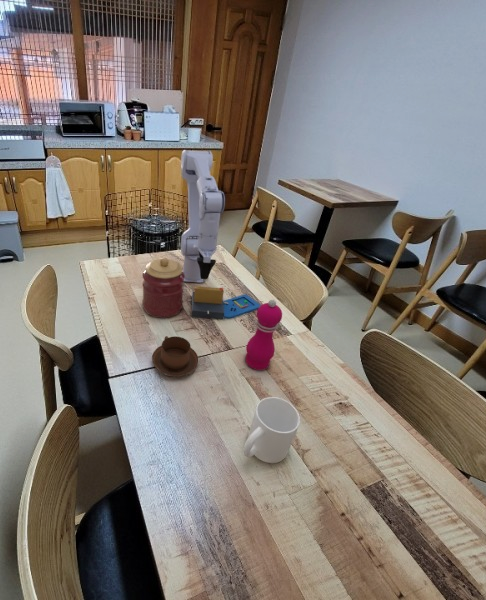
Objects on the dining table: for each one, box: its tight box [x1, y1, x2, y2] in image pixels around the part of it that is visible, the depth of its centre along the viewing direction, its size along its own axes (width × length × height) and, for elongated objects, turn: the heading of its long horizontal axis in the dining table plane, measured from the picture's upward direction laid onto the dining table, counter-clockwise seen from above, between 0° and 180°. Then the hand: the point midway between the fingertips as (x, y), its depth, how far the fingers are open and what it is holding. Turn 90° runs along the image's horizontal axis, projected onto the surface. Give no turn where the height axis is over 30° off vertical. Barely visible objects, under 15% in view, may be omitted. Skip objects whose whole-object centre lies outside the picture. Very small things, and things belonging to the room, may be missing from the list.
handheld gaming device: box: [223, 294, 262, 320], centre depth 112 cm, size 8×1×15 cm
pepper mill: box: [245, 299, 283, 371], centre depth 85 cm, size 7×7×20 cm
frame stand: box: [187, 291, 228, 320], centre depth 110 cm, size 13×13×3 cm
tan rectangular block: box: [194, 285, 225, 304], centre depth 108 cm, size 9×2×5 cm, turn 87°
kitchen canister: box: [142, 256, 185, 319], centre depth 105 cm, size 13×13×18 cm
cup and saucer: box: [151, 335, 199, 377], centre depth 87 cm, size 12×12×6 cm
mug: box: [242, 396, 301, 464], centre depth 67 cm, size 12×8×10 cm
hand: (203, 272), depth 109 cm, fingers open, 7 cm apart
